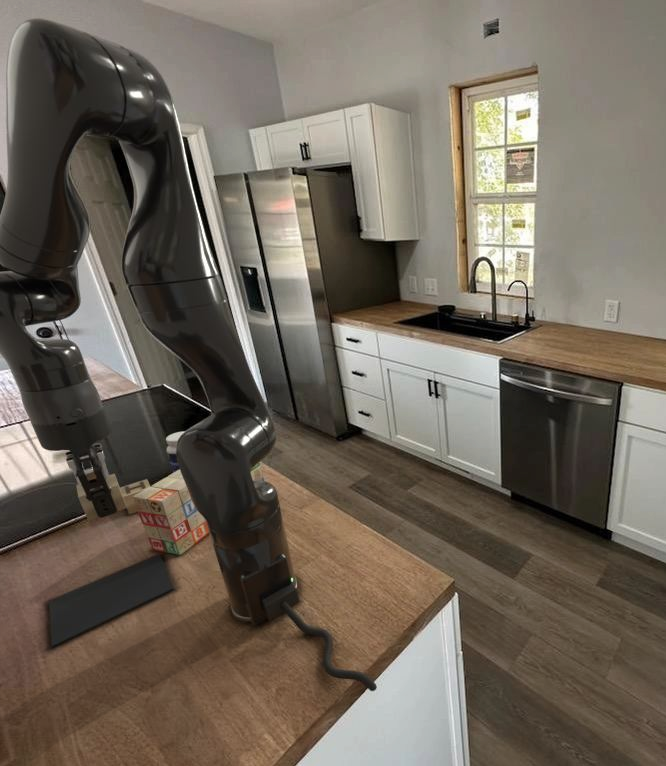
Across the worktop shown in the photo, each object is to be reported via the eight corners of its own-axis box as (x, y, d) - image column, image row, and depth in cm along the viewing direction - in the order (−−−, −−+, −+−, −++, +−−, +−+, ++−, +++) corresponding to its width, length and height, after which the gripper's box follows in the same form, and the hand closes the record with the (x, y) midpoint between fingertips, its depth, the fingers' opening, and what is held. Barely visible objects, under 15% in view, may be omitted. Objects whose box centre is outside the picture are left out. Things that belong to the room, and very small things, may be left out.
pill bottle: (168, 475, 99) (157, 438, 95) (193, 463, 104) (183, 428, 100) (184, 480, 97) (173, 443, 93) (209, 468, 102) (199, 433, 98)
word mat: (174, 589, 69) (173, 588, 68) (52, 648, 59) (51, 646, 59) (160, 555, 75) (160, 553, 75) (49, 602, 66) (48, 600, 66)
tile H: (156, 505, 88) (150, 487, 87) (129, 514, 85) (122, 496, 84) (153, 496, 91) (146, 478, 89) (126, 505, 88) (119, 487, 86)
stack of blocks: (243, 484, 96) (231, 438, 91) (266, 488, 95) (256, 441, 90) (151, 550, 76) (131, 495, 72) (179, 556, 75) (160, 501, 71)
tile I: (127, 508, 66) (118, 484, 65) (88, 521, 63) (77, 496, 62) (123, 496, 69) (114, 472, 68) (86, 508, 66) (75, 484, 65)
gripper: (29, 404, 62) (70, 498, 68) (29, 436, 53) (76, 541, 59) (97, 391, 67) (130, 479, 73) (108, 418, 58) (144, 516, 64)
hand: (106, 506), depth 66 cm, fingers closed on tile I, 4 cm apart
